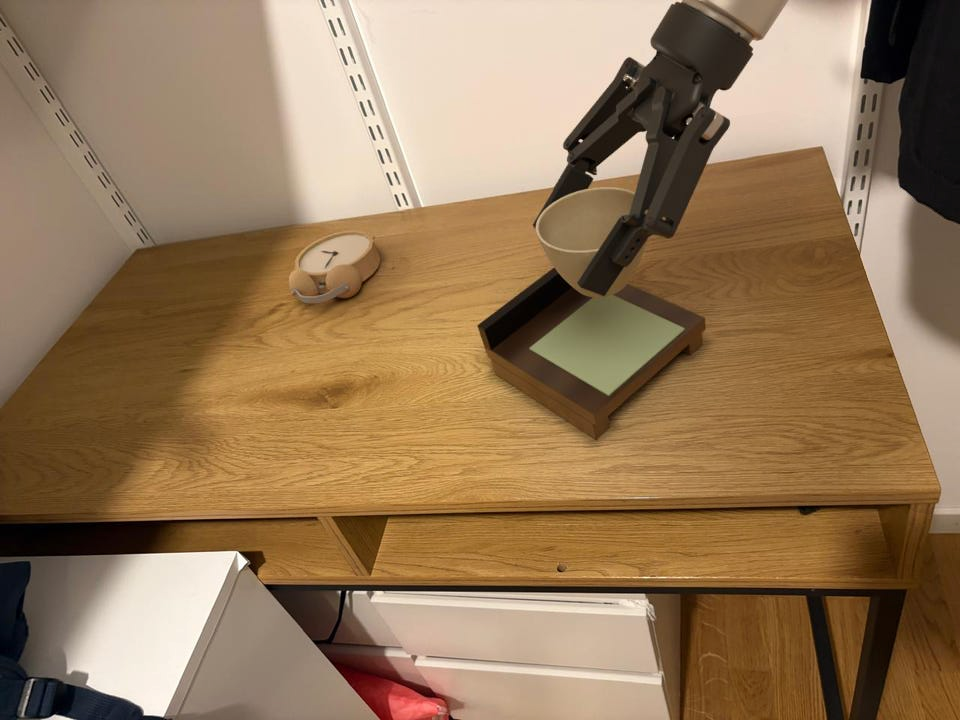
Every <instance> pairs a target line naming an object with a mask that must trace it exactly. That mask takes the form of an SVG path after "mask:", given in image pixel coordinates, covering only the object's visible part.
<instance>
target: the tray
mask: <svg viewBox="0 0 960 720" xmlns="http://www.w3.org/2000/svg"><path fill="white" fill-rule="evenodd" d="M476 325H477V329H478V332H479V335H480V338H481V341H482V344H483V347H484V350H485V353H486V356H487V358H489V359H490V361H491V364H492V368H493V370H494V373H495V375H496V376H497V377H499V378H500V379H502V380H504V381H505V382H507V383H508V384H510V385H511V386H513V387H514V388H516V389H517V390H519V391H520V392H522V393H524V394H525V395H527V396H528V397H530V398H531V399H532V400H534V401H536V402H537V403H539V404H541V406H543V407H545V408H546V409H547V410H550V411H551V412H553V414H556V415H557V416H559V417H560V418H562V419H563V420H565V421H566V422H568V423H569V424H571V425H573V426H574V427H575V428H577V429H579V430H580V431H582V433H585V434H587V435H588V436H589V437H591V438H592V439H594V440H598V439H599V438H600V437H601V436H603V435H604V434H605V433H606V432H607V431H608V430H609V429H610V428H611V425H610V419H609V416H610V415H611V414H612V413H613V412H614V411H615V410H616V409H617V408H619V407H620V406H621V405H622V404H623V403H625V402H626V401H627V400H628V399H629V398H630V397H631V396H632V395H633V394H635V393H636V392H637V391H638V390H639V389H640V388H641V387H642V386H644V384H646V383H647V382H648V381H649V380H650V379H651V378H652V377H653V376H655V375H656V374H657V373H658V372H659V371H661V369H663V368H664V367H665V366H666V365H667V364H669V363H670V362H671V361H672V360H673V359H674V358H675V357H676V356H677V355H678V354H680V353H681V352H682V353H685V354H687V356H692V355H693V354H695V352H696V351H697V350H698V349H700V348H701V347H702V346H703V343H704V342H703V332H705V330H706V329H707V328H706V317H705V316H702V315H700V314H698V313H695V312H694V311H691V310H688V309H686V308H684V307H682V306H680V305H677V304H675V303H673V302H670V301H668V300H666V299H664V298H662V297H659V296H657V295H655V294H652V293H650V292H648V291H645V290H643V289H641V288H639V287H637V286H634V285H632V284H630V283H629V282H628V283H627V285H626V286H625V287H624V288H623V289H622V290H620V291H619V292H617V293H615V294H613V295H610V296H606V297H589V296H585V295H583V294H581V293H580V292H578V291H577V290H576V289H574V288H573V287H572V286H571V285H570V284H569V283H568V282H566V281H565V280H564V278H563V277H562V276H561V275H560V274H559V273H558V272H557V270H556V269H555V268H554V267H553V268H551V269H550V270H549V271H547V272H545V274H543V275H542V276H540V277H539V278H538V279H537V280H535V281H534V282H532V283H531V284H530V285H529V286H527V287H526V288H524V290H522V291H521V292H520V293H518V294H516V296H514V297H512V298H511V299H509V301H507V302H506V303H504V305H502V306H501V307H499V308H498V309H497V310H495V311H494V312H493V313H492V314H490V315H489V316H488V317H486V318H485V319H484V320H482V321H481V322H480V323H479V324H476Z"/></svg>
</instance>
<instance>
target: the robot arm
mask: <svg viewBox="0 0 960 720" xmlns="http://www.w3.org/2000/svg"><path fill="white" fill-rule="evenodd" d="M788 2H789V0H681V1H675V3H671V4H670V6H669V7H668V9H667V11H666V12H665V14H664V16H663V17H662V19H661V21H660V22H659V24H658V26H657V28H656V29H655V31H654V32H653V34H652V36H651V38H650V41H649V42H650V47H651V48H652V49H654V50H655V51H656V53H655V55H654V56H653V58H652V59H651V60H650V61H649V62H648V64H646V65H644V64H642V63H640V62H639V61H637V60H636V59H634V58H633V57H631V56H628V57H626V58H625V59H624V61H623V62H622V64H621V66H620V67H619V69H618V71H617V73H616V75H615V77H614V78H613V80H612V81H611V83H609V85H608V86H607V87H606V89H605V90H604V91H603V92H602V93H601V95H600V96H599V97H598V99H597V100H596V101H595V102H594V103H593V105H591V107H590V108H589V110H588V111H587V112H586V113H585V114H584V115H583V117H582V118H581V120H580V121H579V122H578V123H577V124H576V125H575V127H574V128H573V129H572V130H571V132H570V133H569V134H568V136H567V137H566V138H565V139H564V141H563V142H562V143H563V144H562V148H563V150H565V151H566V152H567V157H566V162H567V164H566V166H565V168H564V170H563V171H562V173H561V175H560V176H559V178H558V179H557V182H556V183H555V185H554V186H553V189H552V191H551V193H550V195H549V197H548V199H547V200H546V201H545V203H544V205H543V206H542V209H541V210H540V211H539V213H538V214H537V216H536V218H535V219H534V222H533V223H532V227H533V228H534V229H535V230H536V223H537V220H538V218H539V216H540V215H541V213H542V212H543V211H544V210H545V209H546V208H547V207H548V206H549V205H551V204H552V203H553V202H555V201H557V200H558V199H560V198H562V197H564V196H566V195H569V194H571V193H574V192H577V191H581V190H585V189H589V187H590V186H591V184H592V182H593V181H594V177H592V176H597V175H598V170H597V167H599V165H601V164H602V163H603V162H604V161H606V160H607V159H608V158H609V157H611V156H612V155H613V154H614V153H616V152H617V151H618V150H619V149H620V148H621V147H623V146H624V145H626V143H628V142H629V141H630V140H631V139H632V138H633V137H635V136H636V135H638V133H645V137H644V138H645V142H646V143H647V148H646V151H645V154H644V159H643V162H642V166H641V169H640V173H639V177H638V180H637V185H636V188H635V191H634V192H635V195H634V199H633V202H632V206H631V210H630V213H629V215H624V216H623V215H621V218H619V219H618V221H617V222H616V224H615V225H614V227H613V229H612V230H611V232H610V233H609V235H608V236H607V238H606V239H605V241H604V242H603V244H602V245H601V247H600V248H599V250H598V252H597V253H596V255H595V256H594V258H593V259H592V261H591V262H590V264H589V265H588V267H587V268H586V270H585V271H584V273H583V275H582V276H581V278H580V279H579V281H578V282H577V284H578V285H579V286H580V287H581V288H583V289H586V290H589V291H591V292H594V293H597V294H599V295H602V296H605V295H606V293H607V292H608V290H609V289H610V287H611V286H612V284H613V283H614V281H615V280H616V279H617V277H618V276H619V274H620V273H621V271H622V270H623V268H624V267H627V266H628V265H629V264H631V262H632V261H633V259H634V257H635V256H636V255H637V253H638V252H639V251H640V249H641V248H642V246H643V245H644V243H645V242H646V243H647V241H648V239H649V238H650V237H651V236H659V237H661V238H662V237H663V238H665V239H671V238H673V237H674V235H675V234H676V232H677V230H678V228H679V225H680V223H681V221H682V219H683V217H684V216H685V212H686V210H687V208H688V205H689V204H690V201H691V200H692V197H693V195H694V193H695V190H696V188H697V187H698V183H699V182H700V179H701V177H702V175H703V172H704V170H705V168H706V166H707V164H708V161H709V159H710V157H711V155H712V153H713V150H714V148H715V147H716V146H717V144H718V143H719V142H720V140H721V139H722V138H723V137H724V135H725V134H726V133H727V131H728V129H730V126H731V120H730V119H729V118H728V117H726V116H724V115H723V114H721V113H720V112H718V111H716V110H715V109H713V108H712V107H711V104H712V101H713V98H714V96H715V94H716V93H717V92H718V91H719V90H720V91H722V92H723V91H724V92H725V91H728V90H730V89H731V88H732V87H733V86H734V84H735V82H736V81H737V79H738V78H739V76H740V75H741V74H742V72H743V71H744V69H745V68H746V66H747V65H748V63H749V62H750V60H751V59H752V57H753V56H754V53H753V51H754V47H753V46H751V43H752V42H753V41H755V42H758V41H762V40H764V38H765V37H766V36H767V34H768V32H769V31H770V29H771V28H772V27H773V25H774V24H775V22H776V20H777V19H778V17H779V16H780V15H781V13H782V11H783V9H784V8H785V6H787V3H788ZM591 175H592V176H591ZM645 210H648V212H647V214H644V212H645ZM663 218H665V219H663ZM646 240H647V241H646Z"/></svg>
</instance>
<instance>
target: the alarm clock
mask: <svg viewBox="0 0 960 720" xmlns="http://www.w3.org/2000/svg"><path fill="white" fill-rule="evenodd" d="M375 239H376V236H375V235H371V234H370V233H368V232H367V231H364V230H359V229H356V230H355V229H354V230H353V229H352V230H343V231H337V232H334V233H331V234H328V235H325V236H323V237H321V238H319V239H317V240H315V241H312V242H311V243H310V244H308V245H307V246H306V247H304V248H302V250H301V252H299V254H298V255H297V256H296V258H295V261H294V270H293V271H292V272H291V273H290V275H289V278H288V285H289V288H290V290H291V291H290V294H291V296H296V297H297V298H298V299H299V300H300V301H301V302H302V303H304V304H311V305H312V304H320V303H324V302H327V301H330V300H333V299H334V298H336V297H337V298H339V299H349V298H351V297H353V296H355V295H356V294H357V293H358V292H359V291H360V289H361V287H362V283H363V282H365V281H366V280H367V279H369V278H370V277H371V276H372V275H374V274H375V272H376V271H377V270H378V268H379V267H380V264H381V263H380V262H381V257H380V255H379V252H378V250H377V248H376V245H375V241H374V240H375Z"/></svg>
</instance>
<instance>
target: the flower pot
mask: <svg viewBox="0 0 960 720" xmlns="http://www.w3.org/2000/svg"><path fill="white" fill-rule="evenodd" d="M634 195H635V191H633V190H630V189H627V188H623V187H614V186H600V187H592V188H591V187H590V188H588V189H585V190H581V191H577V192H574V193H571V194H569V195H566V196H564V197H562V198H560V199H558V200H557V201H555V202H553V203H552V204H551V205H549V206H548V207H547V208H546V209H545V210H544V211H543V212H542V213H541V215H540V216H539V218H538V220H537V223H536V229H535V232H536V236H537V239H538V241H539V244H540V246H541V248H542V250H543V252H544V255H546V257H547V259H548V261H549V262H550V263H551V265H552V266H553V268H555V269H556V270H557V272H558V273H559V274H560V275H561V276H562V277H563V278H564V280H565V281H566V282H568V283H569V284H570V285H571V286H572V287H573V288H574V289H576V290H577V291H578V292H580V293H581V294H583V295H585V296H589V297H606V296H610V295H613V294H615V293H617V292H619V291H620V290H622V289H623V288H624V287H625V286H626V285H627V283H628V284H629V282H630V281H631V279H632V277H634V275H635V272H636V271H637V268H638V267H639V264H640V262H641V260H642V257H643V254H644V252H645V248H646V245H647V241H648V239H647V240H646V242H645V243H644V245H643V246H642V248H641V249H640V251H639V252H638V253H637V255H636V256H635V257H634V259H633V261H632V262H631V264H629V265H628V266H627V267H624V268H623V270H622V271H621V273H620V274H619V276H618V277H617V279H616V280H615V281H614V283H613V284H612V286H611V287H610V289H609V290H608V292H607V293H606V295H605V296H602V295H599V294H597V293H594V292H591V291H589V290H586V289H583V288H581V287H580V286H579V285H578V284H577V282H578V281H579V279H580V278H581V276H582V275H583V273H584V271H585V270H586V268H587V267H588V265H589V264H590V262H591V261H592V259H593V258H594V256H595V255H596V253H597V252H598V250H599V248H600V247H601V245H602V244H603V242H604V241H605V239H606V238H607V236H608V235H609V233H610V232H611V230H612V229H613V227H614V225H615V224H616V222H617V221H618V219H619V218H621V215H623V216H624V215H629V213H630V210H631V206H632V202H633V199H634ZM647 212H648V210H645V212H644V214H647Z"/></svg>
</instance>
